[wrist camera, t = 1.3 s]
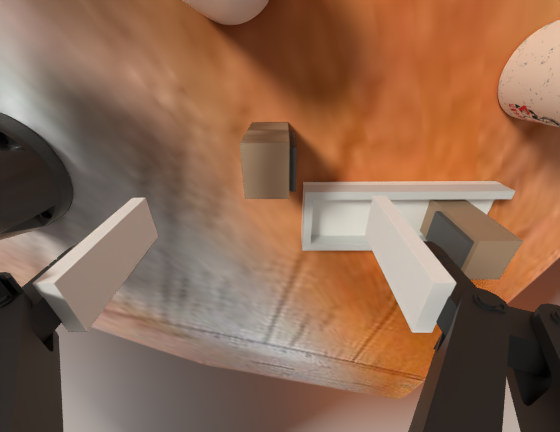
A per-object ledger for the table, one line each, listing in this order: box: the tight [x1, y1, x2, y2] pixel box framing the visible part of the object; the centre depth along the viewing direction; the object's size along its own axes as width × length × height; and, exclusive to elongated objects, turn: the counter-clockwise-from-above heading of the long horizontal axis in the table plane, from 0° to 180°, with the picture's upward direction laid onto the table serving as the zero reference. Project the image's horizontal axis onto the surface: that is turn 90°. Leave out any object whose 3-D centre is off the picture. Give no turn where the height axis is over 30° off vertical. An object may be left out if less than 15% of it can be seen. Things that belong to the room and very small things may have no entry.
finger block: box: [240, 122, 297, 199], centre depth 25 cm, size 5×5×9 cm
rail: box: [301, 181, 523, 279], centre depth 29 cm, size 24×9×10 cm, turn 91°
